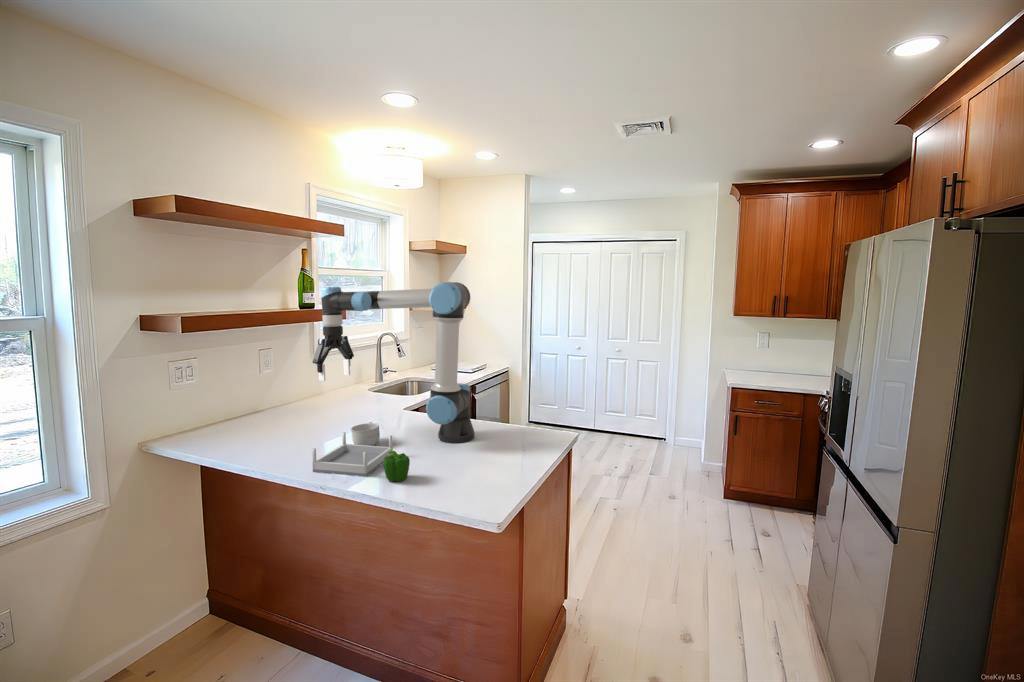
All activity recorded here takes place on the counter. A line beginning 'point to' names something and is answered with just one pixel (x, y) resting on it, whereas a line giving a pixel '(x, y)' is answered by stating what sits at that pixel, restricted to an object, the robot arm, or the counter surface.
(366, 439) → the teacup
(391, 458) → the bell pepper
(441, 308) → the robot arm
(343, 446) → the dish rack
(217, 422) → the counter surface
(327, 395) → the counter surface
